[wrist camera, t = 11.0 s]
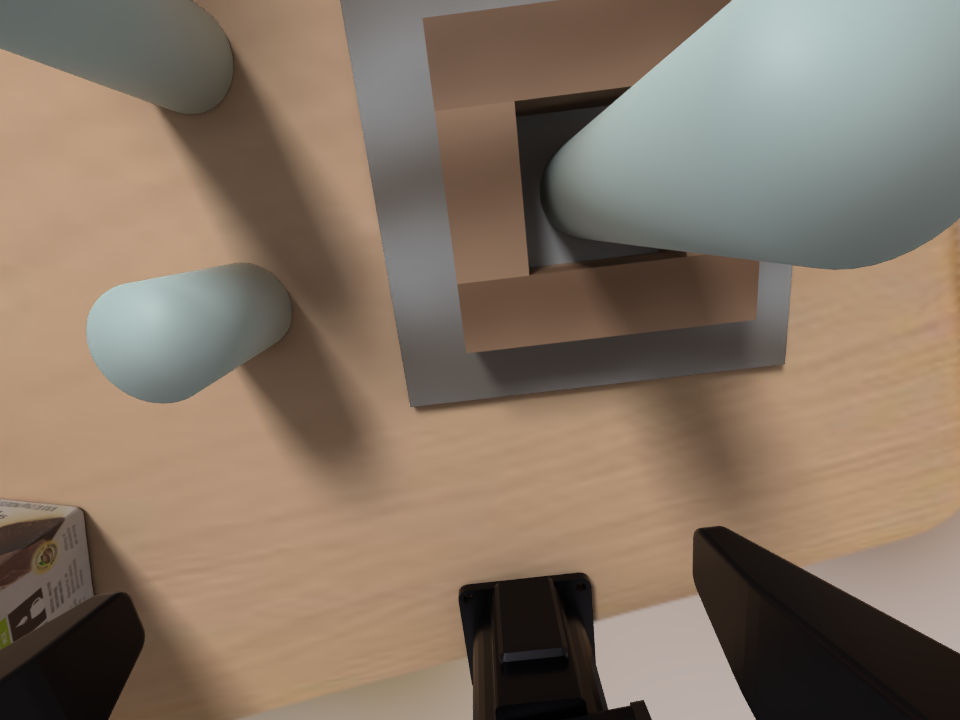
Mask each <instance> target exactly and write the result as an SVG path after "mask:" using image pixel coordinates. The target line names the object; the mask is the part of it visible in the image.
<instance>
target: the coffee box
mask: <svg viewBox="0 0 960 720" xmlns="http://www.w3.org/2000/svg"><path fill="white" fill-rule="evenodd" d="M93 596H94V595H93V587H92V580H91V570H90V563H89V554H88V546H87V538H86V530H85V522H84V514H83V511H82V510H81V509H79V508H78V507H74V506H65V505H55V504H44V503H33V502H24V501H14V500H5V499H0V650H1V649H2V648H4V647H6V646H8V645H9V644H11V643H13V642H15V641H16V640H18V639H20V638H21V637H23V636H25V635H27V634H28V633H30V632H32V631H34V630H35V629H37V628H39V627H40V626H42V625H44V624H46V623H47V622H49V621H51V620H53V619H54V618H56V617H58V616H59V615H61V614H63V613H65V612H66V611H68V610H70V609H72V608H73V607H75V606H77V605H78V604H80V603H82V602H84V601H85V600H87V599H89V598H91V597H93Z"/></svg>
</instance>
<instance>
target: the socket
mask: <svg viewBox="0 0 960 720" xmlns="http://www.w3.org/2000/svg"><path fill="white" fill-rule="evenodd" d="M731 1H732V0H340V2H341V7H342V13H343V19H344V25H345V31H346V36H347V42H348V48H349V54H350V59H351V65H352V71H353V77H354V83H355V88H356V94H357V100H358V106H359V112H360V117H361V123H362V129H363V135H364V141H365V146H366V152H367V158H368V164H369V169H370V175H371V181H372V187H373V193H374V198H375V204H376V210H377V216H378V222H379V227H380V233H381V239H382V245H383V251H384V256H385V262H386V268H387V274H388V280H389V285H390V291H391V297H392V303H393V308H394V314H395V320H396V326H397V332H398V337H399V343H400V349H401V355H402V361H403V366H404V372H405V378H406V384H407V390H408V395H409V401H410V407H416V406H424V405H433V404H442V403H451V402H459V401H468V400H477V399H486V398H494V397H503V396H512V395H521V394H529V393H538V392H547V391H555V390H564V389H573V388H582V387H590V386H599V385H608V384H617V383H625V382H634V381H643V380H652V379H660V378H669V377H678V376H686V375H695V374H704V373H713V372H721V371H730V370H739V369H748V368H756V367H765V366H774V365H783V364H785V355H786V342H787V328H788V315H789V302H790V289H791V276H792V265H787V264H779V263H771V262H763V261H755V260H747V259H739V258H731V257H723V256H715V255H707V254H699V253H692V252H684V251H676V250H668V249H660V248H652V247H644V246H636V245H628V244H620V243H612V242H604V241H596V240H588V239H580V238H574V237H571V236H568V235H565V234H564V233H562V232H560V231H559V230H558V229H556V228H555V227H554V226H553V225H552V224H551V223H550V221H549V220H548V219H547V217H546V215H545V213H544V211H543V209H542V205H541V202H540V181H541V177H542V173H543V171H544V168H545V166H546V164H547V162H548V161H549V160H550V158H551V157H552V156H553V154H554V153H555V152H556V151H557V150H559V149H560V148H561V147H562V146H563V145H564V144H565V143H567V142H568V141H569V140H570V139H571V138H572V137H574V136H575V135H576V134H577V133H578V132H579V131H581V130H582V129H583V128H584V127H585V126H586V125H588V124H589V123H590V122H591V121H592V120H593V119H595V118H596V117H597V116H598V115H599V114H600V113H602V112H603V111H604V110H605V109H606V108H607V107H609V106H610V105H611V104H612V103H613V102H614V101H616V100H617V99H618V98H619V97H620V96H621V95H623V94H624V93H625V92H626V91H627V90H628V89H630V88H631V87H632V86H633V85H634V84H635V83H636V82H638V81H639V80H640V79H641V78H642V77H643V76H645V75H646V74H647V73H648V72H649V71H650V70H652V69H653V68H654V67H655V66H656V65H657V64H659V63H660V62H661V61H662V60H663V59H664V58H666V57H667V56H668V55H669V54H670V53H671V52H673V51H674V50H675V49H676V48H677V47H678V46H680V45H681V44H682V43H683V42H684V41H685V40H687V39H688V38H689V37H690V36H691V35H692V34H694V33H695V32H696V31H697V30H698V29H699V28H701V27H702V26H703V25H704V24H705V23H706V22H708V21H709V20H710V19H711V18H712V17H713V16H715V15H716V14H717V13H718V12H719V11H720V10H722V9H723V8H724V7H725V6H726V5H727V4H728V3H730V2H731Z"/></svg>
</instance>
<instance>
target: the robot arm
mask: <svg viewBox="0 0 960 720" xmlns="http://www.w3.org/2000/svg"><path fill="white" fill-rule="evenodd" d="M693 578H694V583H695V586H696V589H697V591H698V593H699V596H700V598H701V600H702V602H703V605H704V607H705V610H706V612H707V614H708V616H709V619H710V621H711V623H712V626H713V628H714V630H715V633H716V635H717V637H718V639H719V642H720V644H721V647H722V649H723V651H724V653H725V656H726V658H727V660H728V663H729V665H730V667H731V670H732V672H733V674H734V676H735V679H736V681H737V683H738V685H739V687H740V690H741V692H742V694H743V696H744V698H745V700H746V701H747V703H748V705H749V707H750V709H751V711H752V713H753V714H754V717H755V718H756V720H960V654H959V653H958V652H956V651H954V650H952V649H950V648H948V647H946V646H945V645H943V644H941V643H939V642H937V641H935V640H933V639H932V638H930V637H928V636H926V635H924V634H922V633H921V632H919V631H917V630H915V629H913V628H911V627H909V626H908V625H906V624H904V623H902V622H900V621H898V620H896V619H895V618H892V617H891V616H889V615H887V614H885V613H883V612H881V611H879V610H877V609H876V608H874V607H872V606H870V605H869V604H867V603H865V602H863V601H861V600H859V599H857V598H856V597H853V596H852V595H850V594H848V593H846V592H844V591H843V590H841V589H839V588H837V587H835V586H833V585H831V584H829V583H828V582H826V581H824V580H822V579H820V578H818V577H817V576H815V575H813V574H811V573H809V572H807V571H805V570H804V569H802V568H800V567H798V566H796V565H794V564H792V563H791V562H789V561H787V560H785V559H783V558H781V557H779V556H778V555H776V554H774V553H772V552H770V551H768V550H766V549H765V548H763V547H761V546H759V545H757V544H755V543H753V542H752V541H750V540H748V539H746V538H744V537H742V536H740V535H739V534H737V533H735V532H733V531H731V530H729V529H727V528H725V527H722V526H714V527H705V528H698V529H697V530H696V531H695V532H694V536H693ZM578 583H583V584H582V585H577V584H578ZM466 595H472V596H471V597H467V596H466ZM459 606H460V612H461V618H462V625H463V631H464V637H465V643H466V649H467V656H468V662H469V668H470V674H471V680H472V685H473V720H652V719H651V717H650V714H649V712H648V710H647V707H646V705H645V702H644V700H641V701H636V702H631V703H630V706H626V707H621V708H616V709H611V710H608V708H607V704H606V700H605V697H604V693H603V689H602V685H601V682H600V678H599V674H598V671H597V667H596V660H595V643H594V626H593V609H592V592H591V584H590V581H589V578H588V576H587V575H586V574H584V573H571V574H562V575H552V576H543V577H534V578H524V579H515V580H505V581H496V582H487V583H477V584H468V585H464V586H462V587H461V588H460V590H459ZM144 641H145V630H144V627H143V625H142V622H141V620H140V618H139V615H138V613H137V610H136V608H135V606H134V603H133V601H132V598H131V597H130V595H128V594H127V593H126V592H121V591H119V592H110V593H102V594H97V595H95V596H93V597H91V598H89V599H87V600H85V601H84V602H82V603H80V604H78V605H77V606H75V607H73V608H72V609H70V610H68V611H66V612H65V613H63V614H61V615H59V616H58V617H56V618H54V619H53V620H51V621H49V622H47V623H46V624H44V625H42V626H40V627H39V628H37V629H35V630H34V631H32V632H30V633H28V634H27V635H25V636H23V637H21V638H20V639H18V640H16V641H15V642H13V643H11V644H9V645H8V646H6V647H4V648H2V649H1V650H0V720H108V719H109V717H110V715H111V713H112V711H113V709H114V706H115V704H116V702H117V700H118V698H119V696H120V694H121V692H122V690H123V688H124V686H125V684H126V682H127V679H128V677H129V675H130V673H131V671H132V669H133V667H134V665H135V663H136V661H137V659H138V657H139V655H140V652H141V650H142V648H143V645H144Z"/></svg>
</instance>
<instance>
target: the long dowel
mask: <svg viewBox="0 0 960 720" xmlns="http://www.w3.org/2000/svg"><path fill="white" fill-rule="evenodd" d="M540 202H541V205H542V209H543V211H544V213H545V215H546V217H547V219H548V220H549V221H550V223H551V224H552V225H553V226H554V227H555V228H556V229H558V230H559V231H560V232H562V233H564V234H565V235H568V236H571V237H574V238H580V239H588V240H596V241H604V242H612V243H620V244H628V245H636V246H644V247H652V248H660V249H668V250H676V251H684V252H692V253H699V254H707V255H715V256H723V257H731V258H739V259H747V260H755V261H763V262H771V263H779V264H787V265H795V266H803V267H811V268H821V269H832V270H837V269H854V268H860V267H866V266H871V265H875V264H878V263H882V262H885V261H888V260H891V259H894V258H896V257H899V256H901V255H903V254H906V253H908V252H910V251H912V250H914V249H916V248H918V247H919V246H921V245H923V244H925V243H926V242H928V241H930V240H932V239H933V238H934V237H936V236H937V235H939V234H940V233H941V232H943V231H944V230H946V229H947V228H948V227H950V226H951V225H952V224H953V223H954V222H956V221H957V220H958V219H959V218H960V0H732V1H731V2H730V3H728V4H727V5H726V6H725V7H724V8H723V9H722V10H720V11H719V12H718V13H717V14H716V15H715V16H713V17H712V18H711V19H710V20H709V21H708V22H706V23H705V24H704V25H703V26H702V27H701V28H699V29H698V30H697V31H696V32H695V33H694V34H692V35H691V36H690V37H689V38H688V39H687V40H685V41H684V42H683V43H682V44H681V45H680V46H678V47H677V48H676V49H675V50H674V51H673V52H671V53H670V54H669V55H668V56H667V57H666V58H664V59H663V60H662V61H661V62H660V63H659V64H657V65H656V66H655V67H654V68H653V69H652V70H650V71H649V72H648V73H647V74H646V75H645V76H643V77H642V78H641V79H640V80H639V81H638V82H636V83H635V84H634V85H633V86H632V87H631V88H630V89H628V90H627V91H626V92H625V93H624V94H623V95H621V96H620V97H619V98H618V99H617V100H616V101H614V102H613V103H612V104H611V105H610V106H609V107H607V108H606V109H605V110H604V111H603V112H602V113H600V114H599V115H598V116H597V117H596V118H595V119H593V120H592V121H591V122H590V123H589V124H588V125H586V126H585V127H584V128H583V129H582V130H581V131H579V132H578V133H577V134H576V135H575V136H574V137H572V138H571V139H570V140H569V141H568V142H567V143H565V144H564V145H563V146H562V147H561V148H560V149H559V150H557V151H556V152H555V153H554V154H553V156H552V157H551V158H550V160H549V161H548V162H547V164H546V166H545V168H544V171H543V173H542V177H541V181H540Z"/></svg>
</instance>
